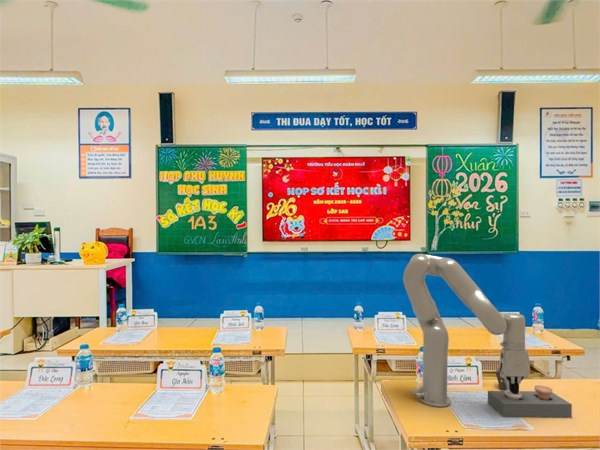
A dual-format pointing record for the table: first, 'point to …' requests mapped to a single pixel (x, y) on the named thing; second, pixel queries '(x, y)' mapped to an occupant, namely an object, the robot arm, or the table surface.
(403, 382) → the table surface
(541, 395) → the terracotta button
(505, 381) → the electrical switch
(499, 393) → the button box
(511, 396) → the grey button
